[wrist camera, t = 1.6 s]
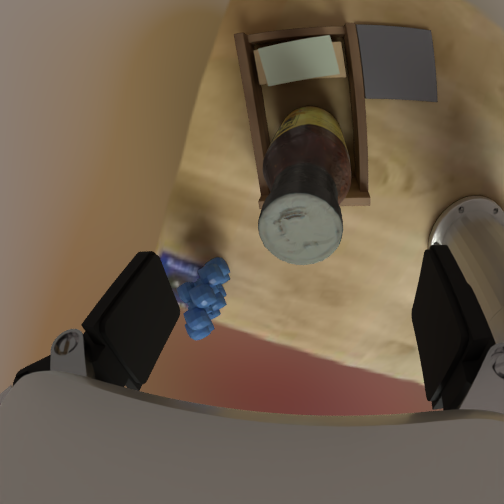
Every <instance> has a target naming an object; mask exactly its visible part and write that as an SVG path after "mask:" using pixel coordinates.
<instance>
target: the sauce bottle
mask: <svg viewBox="0 0 504 504" xmlns="http://www.w3.org/2000/svg"><path fill="white" fill-rule="evenodd" d="M263 176H264V179H265V181H266V183H267V186H268V188H269V190H270V192H271V193H270V194H269V195H268V196H267V197H266V200H265V201H264V203H263V206H262V210H261V213H260V217H259V220H258V230H259V235H260V237H261V240H262V242H263V244H264V246H265V247H266V248H267V249H268V250H269V251H270V252H271V253H272V254H273V255H274V256H276V257H277V258H279V259H280V260H282V261H285V262H287V263H291V264H296V265H308V264H314V263H317V262H319V261H323V260H324V259H325V258H327V257H329V256H330V255H331V254H332V253H333V252H334V251H335V250H336V249H337V247H338V246H339V244H340V241H341V238H342V233H343V220H342V214H341V209H340V206H339V205H340V203H341V202H342V201H343V200H344V198H345V197H346V195H347V193H348V191H349V188H350V186H351V166H350V158H349V154H348V150H347V147H346V144H345V140H344V137H343V134H342V131H341V128H340V125H339V123H338V122H337V120H336V119H335V118H334V117H333V116H332V115H331V114H330V113H328V112H327V111H325V110H323V109H321V108H319V107H316V106H306V107H302V108H299V109H296V110H294V111H292V112H291V113H290V114H289V115H288V116H287V117H286V118H285V120H284V121H283V123H282V125H281V126H280V128H279V130H278V131H277V133H276V134H275V137H274V138H273V140H272V142H271V144H270V146H269V148H268V150H267V152H266V154H265V156H264V160H263Z"/></svg>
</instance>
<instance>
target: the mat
mask: <svg viewBox="0 0 504 504" xmlns="http://www.w3.org/2000/svg"><path fill="white" fill-rule="evenodd" d="M356 31H357V37H358V43H359V50H360V58H361V66H362V74H363V83H364V94H365V98H367V99H402V100H418V101H430V102H437V82H436V69H435V59H434V50H433V42H432V35H431V30H424V29H416V28H407V27H396V26H382V25H356Z"/></svg>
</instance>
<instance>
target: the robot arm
mask: <svg viewBox="0 0 504 504" xmlns="http://www.w3.org/2000/svg"><path fill="white" fill-rule="evenodd" d="M179 315H180V308H179V305H178V303H177V300H176V298H175V296H174V293H173V291H172V288H171V286H170V283H169V280H168V278H167V275H166V273H165V270H164V268H163V265H162V262H161V260H160V257H159V256H158V255H156V254H155V253H154V252H152V251H149V252H139V253H137V254H136V256H135V257H134V258H133V259H132V261H131V262H130V263H129V264H128V265H127V267H126V268H125V269H124V270H123V271H122V273H121V274H120V275H119V276H118V278H117V279H116V280H115V282H114V283H113V284H112V285H111V286H110V288H109V289H108V290H107V291H106V293H105V294H104V295H103V297H102V298H101V299H100V301H99V302H98V303H97V304H96V306H95V307H94V309H93V310H92V311H91V312H90V314H89V315H88V316H87V318H86V319H85V320H84V322H83V323H82V327H83V328H84V329H85V333H84V334H83V333H82V332H81V331H80V330H77V329H70V330H67V331H65V332H63V333H61V334H60V335H59V336H58V337H57V338H56V339H55V341H54V342H53V344H52V347H51V355H49V356H47V357H45V358H43V359H41V360H39V361H37V362H35V363H33V364H31V365H29V366H27V367H25V368H23V369H21V370H20V371H19V372H18V373H17V374H16V377H15V379H14V382H13V386H9V387H8V388H7V389H6V390H5V391H3V392H2V393H1V394H0V504H504V211H503V210H502V209H501V207H500V206H499V205H498V204H497V203H496V202H494V201H493V200H491V199H489V198H487V197H484V196H470V197H465V198H463V199H460V200H458V201H457V202H455V203H453V204H452V205H450V206H449V207H448V208H447V209H446V210H445V211H444V212H443V213H442V214H441V215H440V217H439V218H438V219H437V221H436V223H435V225H434V226H433V229H432V231H431V234H430V238H429V242H428V250H425V252H424V257H423V262H422V267H421V272H420V277H419V282H418V287H417V291H416V295H415V300H414V304H413V308H412V322H413V327H414V331H415V336H416V340H417V345H418V350H419V355H420V361H421V366H422V372H423V378H424V384H425V391H426V397H427V400H428V401H432V409H441V408H443V411H429V412H420V413H407V414H391V415H367V416H312V415H291V414H277V413H265V412H254V411H246V410H238V409H229V408H223V407H216V406H209V405H203V404H197V403H192V402H186V401H181V400H176V399H171V398H166V397H161V396H157V395H152V394H149V393H144V392H140V391H139V390H140V388H141V386H142V384H144V383H146V381H147V380H148V378H149V375H150V374H151V372H152V369H153V367H154V365H155V363H156V361H157V359H158V357H159V355H160V353H161V351H162V349H163V347H164V345H165V343H166V341H167V340H168V338H169V335H170V334H171V332H172V330H173V328H174V326H175V324H176V322H177V320H178V318H179ZM125 385H126V386H127V388H125V387H124V386H125ZM132 389H133V390H132ZM136 390H137V391H136Z"/></svg>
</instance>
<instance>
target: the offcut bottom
mask: <svg viewBox="0 0 504 504" xmlns="http://www.w3.org/2000/svg"><path fill="white" fill-rule="evenodd" d="M332 45H333V48H334V52H335V56H336V60H337V64H338V68H339V72H340V74H337V75H329V76H322V77H316V78H310V79H319V78H338V77H346V71H345V64H344V57H343V51H342V45H341V42H332ZM254 56H255V62H256V67H257V72H258V78H259V83H260V85H262V84H268V83H267V79H266V76H265V72H264V69H263V65H262V62H261V58H260V55H259V51H258V50H254ZM304 80H306V79H304Z"/></svg>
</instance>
